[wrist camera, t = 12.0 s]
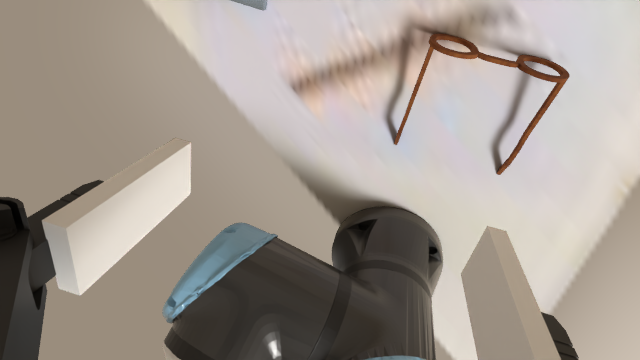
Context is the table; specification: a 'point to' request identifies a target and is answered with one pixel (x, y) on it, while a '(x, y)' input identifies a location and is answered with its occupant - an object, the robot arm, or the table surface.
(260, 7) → the bridge base
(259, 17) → the table surface
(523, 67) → the glasses
